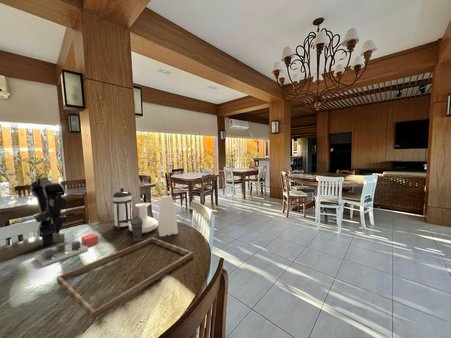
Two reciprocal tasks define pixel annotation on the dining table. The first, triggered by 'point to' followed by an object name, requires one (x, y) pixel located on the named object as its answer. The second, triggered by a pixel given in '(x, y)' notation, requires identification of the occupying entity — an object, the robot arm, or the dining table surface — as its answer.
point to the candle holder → (145, 219)
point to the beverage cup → (136, 227)
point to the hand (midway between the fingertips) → (55, 232)
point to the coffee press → (122, 208)
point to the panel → (60, 254)
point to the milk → (167, 217)
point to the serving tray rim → (128, 293)
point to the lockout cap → (89, 239)
